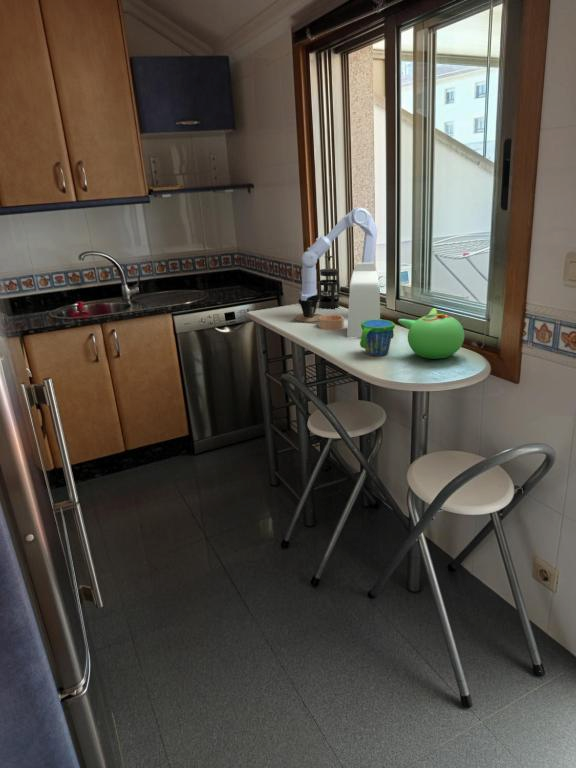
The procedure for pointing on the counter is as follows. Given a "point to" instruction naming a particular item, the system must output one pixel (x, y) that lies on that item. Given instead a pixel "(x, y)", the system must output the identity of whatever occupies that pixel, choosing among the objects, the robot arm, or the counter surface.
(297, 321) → the mat
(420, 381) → the counter surface
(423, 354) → the green teapot
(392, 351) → the counter surface
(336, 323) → the bowl
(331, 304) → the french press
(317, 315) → the lid
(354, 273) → the milk
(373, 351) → the snack cup
